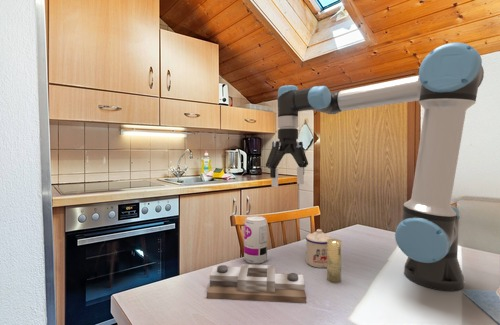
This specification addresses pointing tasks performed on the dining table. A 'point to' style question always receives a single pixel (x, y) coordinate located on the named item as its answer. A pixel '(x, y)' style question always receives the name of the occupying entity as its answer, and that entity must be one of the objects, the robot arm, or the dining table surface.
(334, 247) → the brass pin
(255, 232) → the supplement can
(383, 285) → the dining table surface
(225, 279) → the pin insertion fixture
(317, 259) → the teacup with lid
